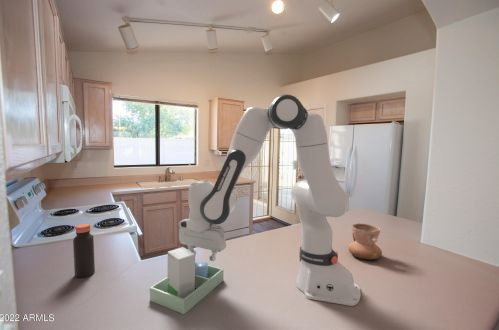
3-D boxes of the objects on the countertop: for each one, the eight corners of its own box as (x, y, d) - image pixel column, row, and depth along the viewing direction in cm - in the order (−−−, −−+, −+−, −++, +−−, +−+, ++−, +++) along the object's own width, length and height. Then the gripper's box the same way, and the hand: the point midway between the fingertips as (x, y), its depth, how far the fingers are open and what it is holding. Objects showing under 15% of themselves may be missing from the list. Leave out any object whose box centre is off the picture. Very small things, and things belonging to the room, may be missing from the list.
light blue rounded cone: (202, 284, 91) (202, 269, 91) (191, 281, 93) (191, 266, 93) (210, 278, 96) (210, 263, 95) (199, 275, 98) (199, 260, 98)
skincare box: (167, 294, 86) (166, 251, 85) (184, 287, 90) (183, 245, 89) (178, 305, 80) (178, 259, 79) (196, 296, 84) (195, 253, 83)
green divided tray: (223, 280, 95) (223, 269, 95) (184, 314, 75) (183, 300, 75) (193, 271, 102) (193, 260, 101) (149, 300, 82) (149, 287, 82)
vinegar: (98, 272, 101) (96, 224, 99) (80, 280, 95) (77, 229, 93) (89, 268, 104) (87, 222, 103) (71, 275, 98) (69, 226, 97)
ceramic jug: (390, 263, 109) (391, 232, 108) (359, 264, 108) (360, 232, 107) (367, 248, 127) (368, 221, 126) (340, 248, 126) (341, 221, 125)
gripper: (228, 223, 91) (229, 259, 92) (186, 217, 101) (188, 250, 102) (218, 229, 86) (220, 267, 87) (175, 221, 95) (177, 256, 96)
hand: (202, 257), depth 94 cm, fingers open, 8 cm apart
